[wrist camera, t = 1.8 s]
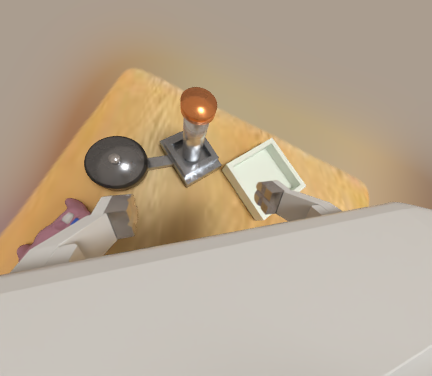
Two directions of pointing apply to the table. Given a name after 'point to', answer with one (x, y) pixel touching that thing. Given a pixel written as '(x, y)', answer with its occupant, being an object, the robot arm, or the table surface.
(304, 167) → the table surface
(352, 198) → the table surface
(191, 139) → the pin
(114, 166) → the disc
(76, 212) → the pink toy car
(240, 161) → the tray
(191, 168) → the block
